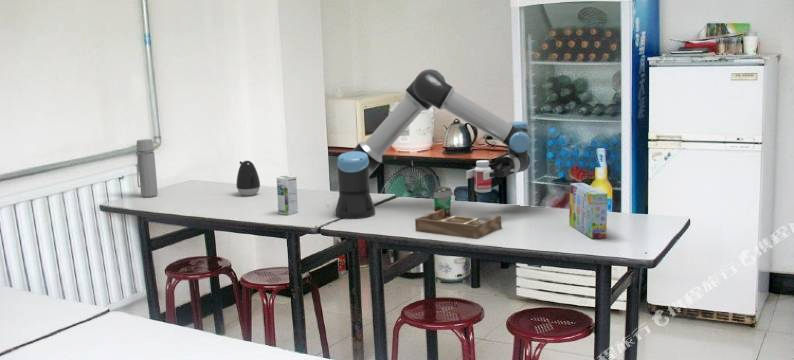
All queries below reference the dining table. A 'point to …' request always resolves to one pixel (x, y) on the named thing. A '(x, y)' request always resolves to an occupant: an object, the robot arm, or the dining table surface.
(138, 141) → the water bottle
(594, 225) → the snack box
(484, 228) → the walled tray
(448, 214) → the food container
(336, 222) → the dining table surface
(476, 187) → the pill bottle
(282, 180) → the syrup box
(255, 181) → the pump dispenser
